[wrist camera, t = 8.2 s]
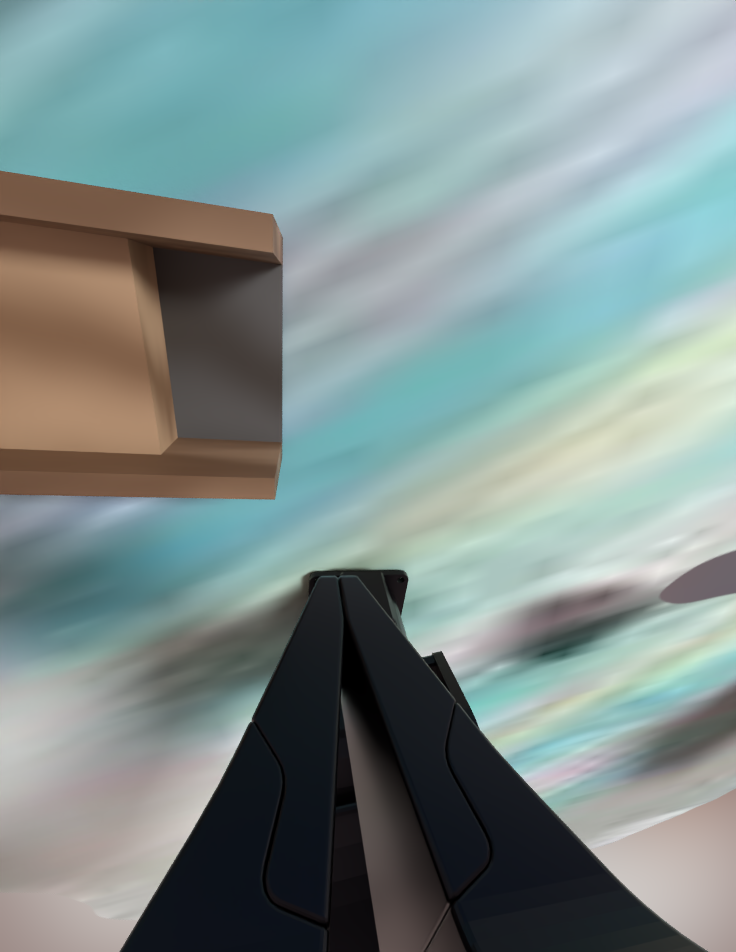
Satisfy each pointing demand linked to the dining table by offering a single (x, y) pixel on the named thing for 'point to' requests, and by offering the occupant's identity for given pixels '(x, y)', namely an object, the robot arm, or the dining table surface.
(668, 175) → the dining table surface
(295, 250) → the dining table surface
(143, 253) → the trap box
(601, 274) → the dining table surface
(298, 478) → the dining table surface
